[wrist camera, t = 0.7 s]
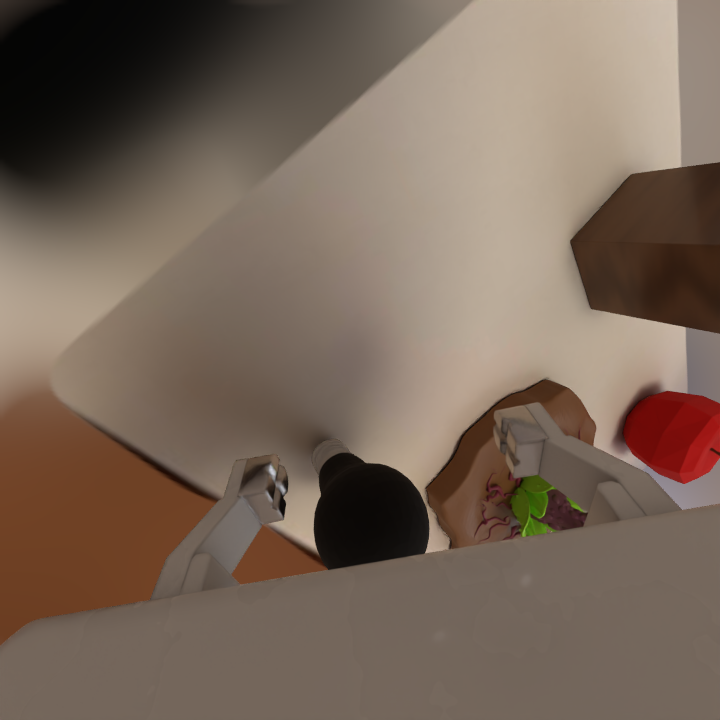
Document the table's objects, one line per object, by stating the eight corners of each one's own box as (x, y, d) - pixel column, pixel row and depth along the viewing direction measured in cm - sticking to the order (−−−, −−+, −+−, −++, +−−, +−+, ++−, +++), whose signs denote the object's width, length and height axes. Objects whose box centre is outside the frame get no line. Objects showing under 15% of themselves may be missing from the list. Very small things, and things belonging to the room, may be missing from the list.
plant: (550, 343, 30) (714, 394, 21) (589, 451, 40) (710, 518, 31) (394, 503, 28) (497, 641, 19) (477, 573, 38) (570, 685, 29)
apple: (636, 454, 47) (733, 503, 39) (600, 452, 42) (703, 508, 34) (674, 386, 45) (784, 422, 37) (640, 375, 40) (761, 414, 31)
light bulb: (274, 426, 21) (330, 559, 12) (358, 398, 23) (455, 495, 14) (291, 495, 23) (348, 647, 15) (366, 464, 25) (453, 581, 17)
